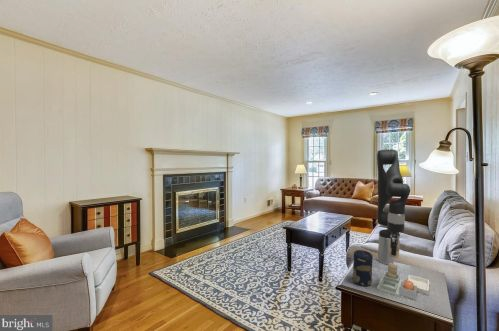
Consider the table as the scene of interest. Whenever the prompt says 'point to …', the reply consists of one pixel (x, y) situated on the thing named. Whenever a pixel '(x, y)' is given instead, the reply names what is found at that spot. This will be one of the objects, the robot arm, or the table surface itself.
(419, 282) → the pale shallow tray
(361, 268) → the canister
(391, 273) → the billet
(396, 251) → the billet
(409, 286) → the button
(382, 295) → the table surface
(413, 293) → the console
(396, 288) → the board
